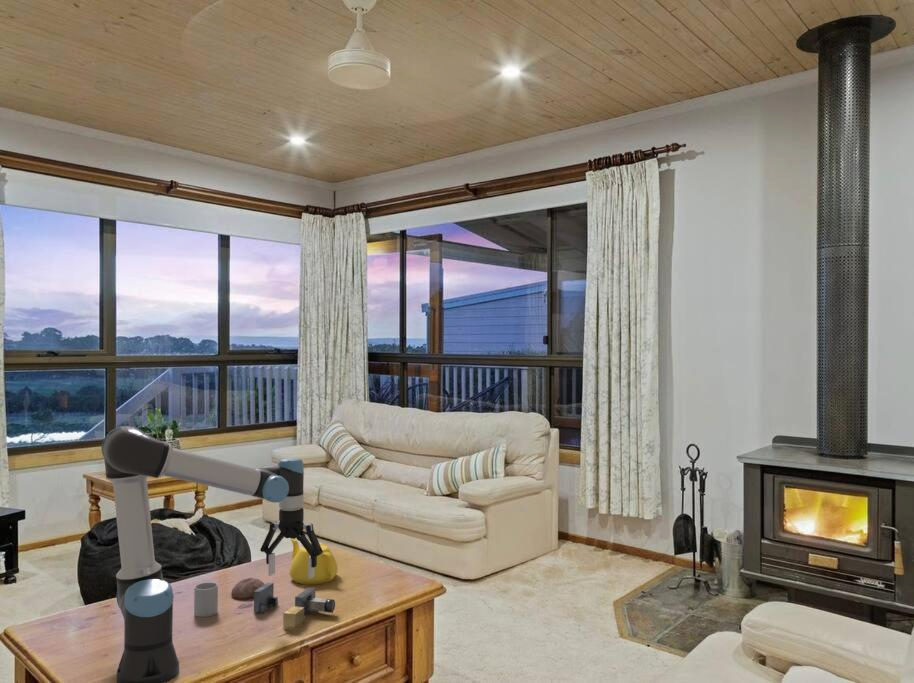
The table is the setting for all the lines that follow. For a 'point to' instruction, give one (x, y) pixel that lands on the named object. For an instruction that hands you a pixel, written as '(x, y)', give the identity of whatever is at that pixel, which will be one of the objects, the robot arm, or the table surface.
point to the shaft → (320, 604)
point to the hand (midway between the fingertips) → (291, 576)
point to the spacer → (293, 618)
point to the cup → (205, 599)
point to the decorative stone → (246, 588)
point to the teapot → (322, 571)
